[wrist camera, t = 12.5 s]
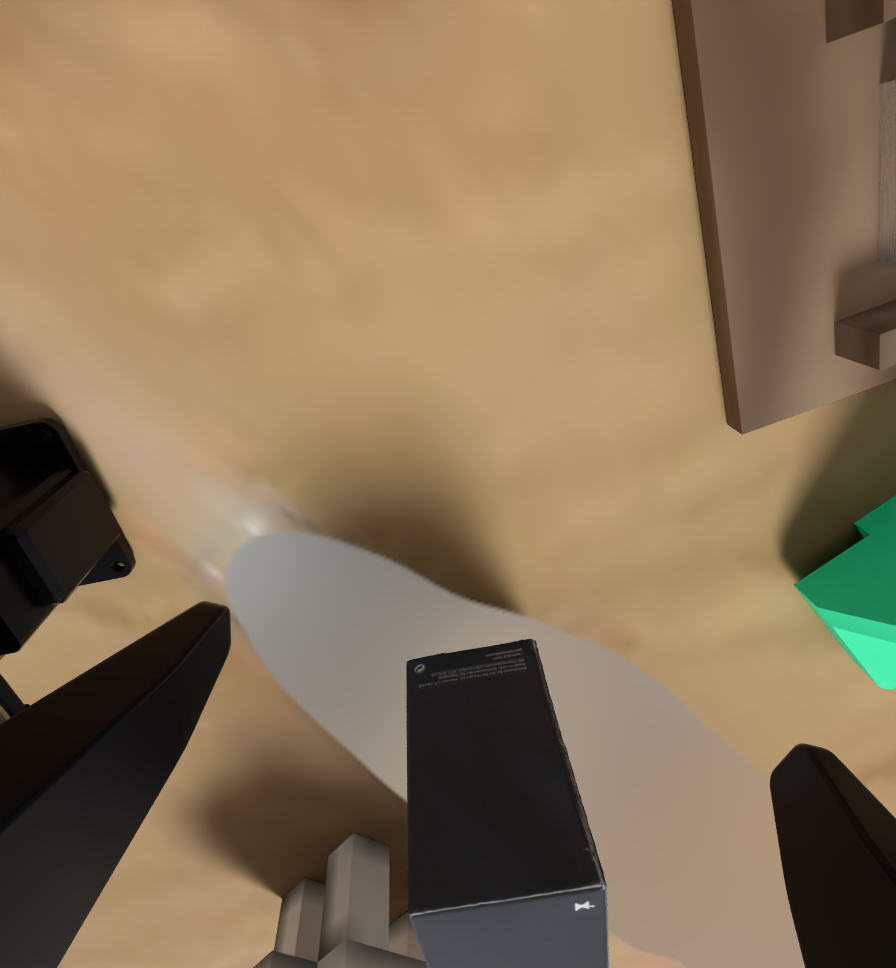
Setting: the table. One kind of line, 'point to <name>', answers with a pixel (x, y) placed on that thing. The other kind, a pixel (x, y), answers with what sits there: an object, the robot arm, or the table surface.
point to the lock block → (887, 172)
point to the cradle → (791, 196)
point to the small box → (497, 819)
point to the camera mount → (862, 596)
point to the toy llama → (345, 917)
